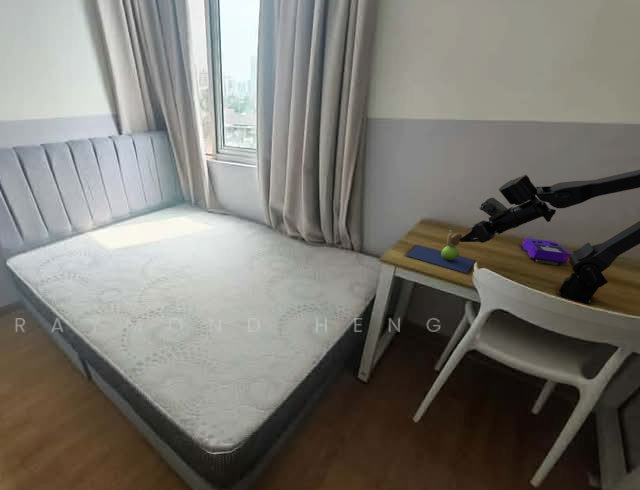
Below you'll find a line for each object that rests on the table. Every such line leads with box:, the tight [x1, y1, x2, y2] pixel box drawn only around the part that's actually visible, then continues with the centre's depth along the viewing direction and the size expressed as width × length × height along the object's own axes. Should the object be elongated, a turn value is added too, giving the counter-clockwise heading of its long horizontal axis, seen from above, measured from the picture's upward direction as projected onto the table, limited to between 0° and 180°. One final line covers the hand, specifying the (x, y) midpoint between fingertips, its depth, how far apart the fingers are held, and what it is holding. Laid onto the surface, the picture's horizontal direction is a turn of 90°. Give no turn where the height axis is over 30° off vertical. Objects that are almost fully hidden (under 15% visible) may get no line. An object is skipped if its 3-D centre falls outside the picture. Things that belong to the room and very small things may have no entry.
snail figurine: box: [441, 229, 463, 260], centre depth 111 cm, size 5×6×12 cm
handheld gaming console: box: [522, 237, 572, 266], centre depth 115 cm, size 9×5×15 cm
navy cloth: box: [406, 245, 476, 275], centre depth 116 cm, size 20×12×1 cm, turn 46°
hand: (466, 237), depth 106 cm, fingers open, 9 cm apart
